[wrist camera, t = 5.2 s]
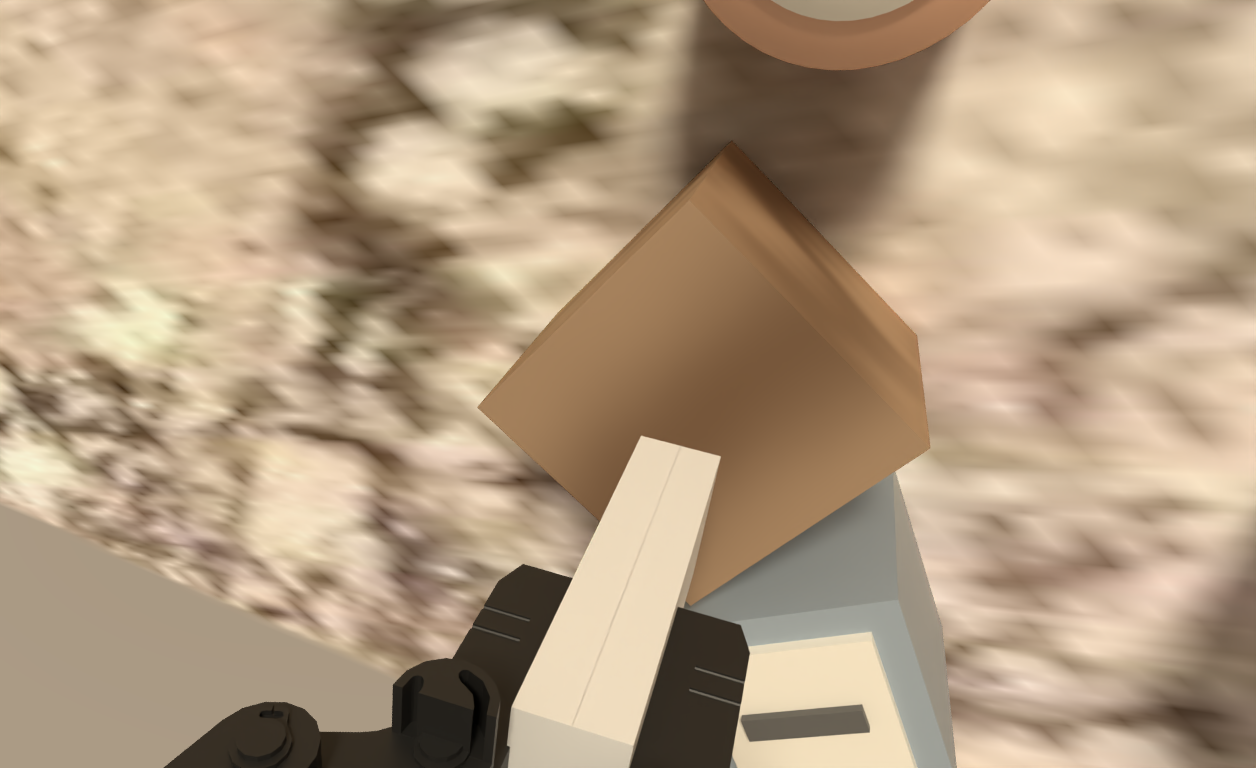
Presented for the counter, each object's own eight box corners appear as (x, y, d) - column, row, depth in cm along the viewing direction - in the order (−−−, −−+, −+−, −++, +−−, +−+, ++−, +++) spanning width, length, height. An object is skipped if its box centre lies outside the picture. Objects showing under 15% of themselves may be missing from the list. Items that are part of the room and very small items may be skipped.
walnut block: (558, 312, 25) (477, 407, 20) (732, 139, 22) (689, 199, 17) (726, 474, 26) (690, 606, 21) (916, 333, 23) (930, 448, 18)
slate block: (695, 498, 27) (648, 646, 21) (892, 461, 25) (898, 614, 19) (754, 647, 29) (726, 818, 23) (941, 625, 27) (961, 807, 21)
